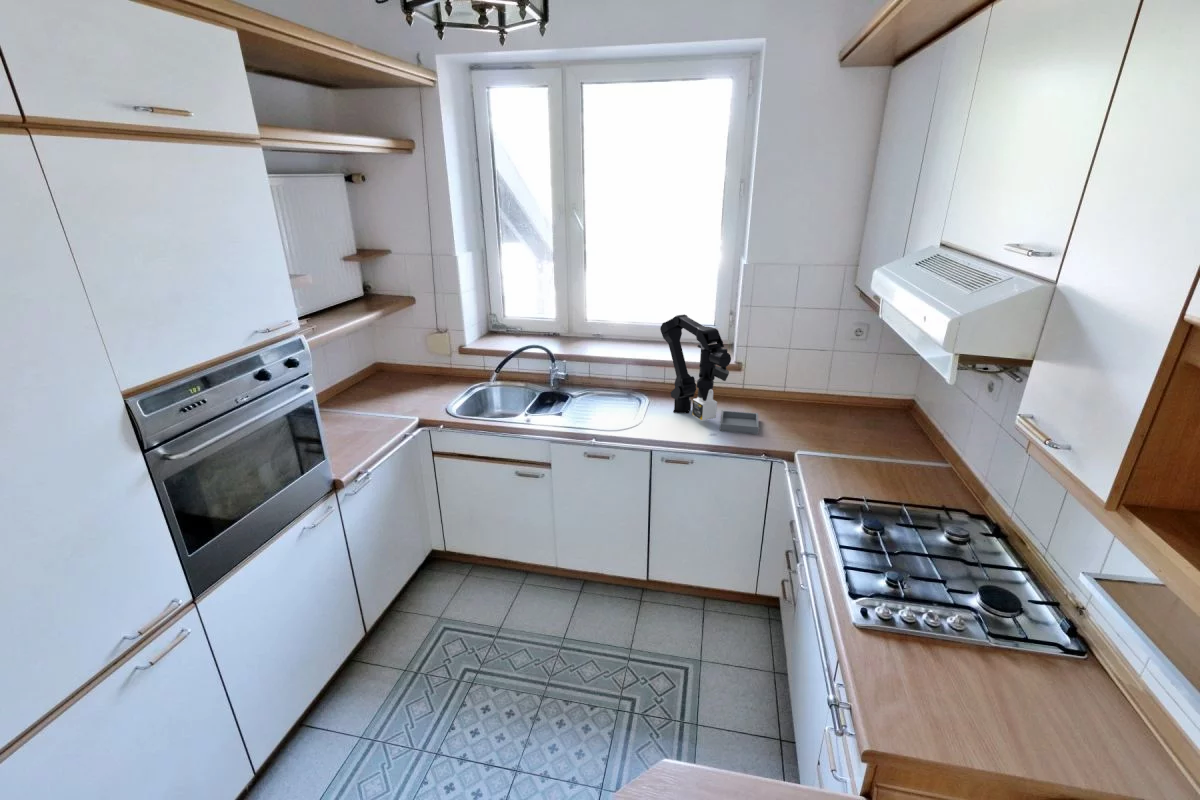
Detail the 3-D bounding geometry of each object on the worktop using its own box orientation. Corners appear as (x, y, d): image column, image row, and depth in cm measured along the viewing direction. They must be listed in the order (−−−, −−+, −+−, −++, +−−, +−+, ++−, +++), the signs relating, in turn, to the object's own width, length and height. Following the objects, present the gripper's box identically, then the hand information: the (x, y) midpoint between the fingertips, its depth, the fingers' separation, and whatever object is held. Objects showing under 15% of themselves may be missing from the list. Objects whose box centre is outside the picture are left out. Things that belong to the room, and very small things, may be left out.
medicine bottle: (691, 414, 230) (693, 387, 225) (706, 412, 232) (708, 384, 228) (701, 421, 224) (703, 392, 219) (716, 418, 226) (718, 390, 222)
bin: (719, 430, 221) (720, 423, 220) (721, 417, 234) (721, 410, 233) (758, 434, 218) (758, 427, 217) (757, 420, 231) (757, 413, 230)
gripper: (727, 369, 209) (724, 407, 215) (729, 355, 226) (726, 391, 232) (697, 367, 212) (695, 405, 217) (701, 353, 229) (699, 389, 234)
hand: (705, 397), depth 225 cm, fingers closed on medicine bottle, 6 cm apart
